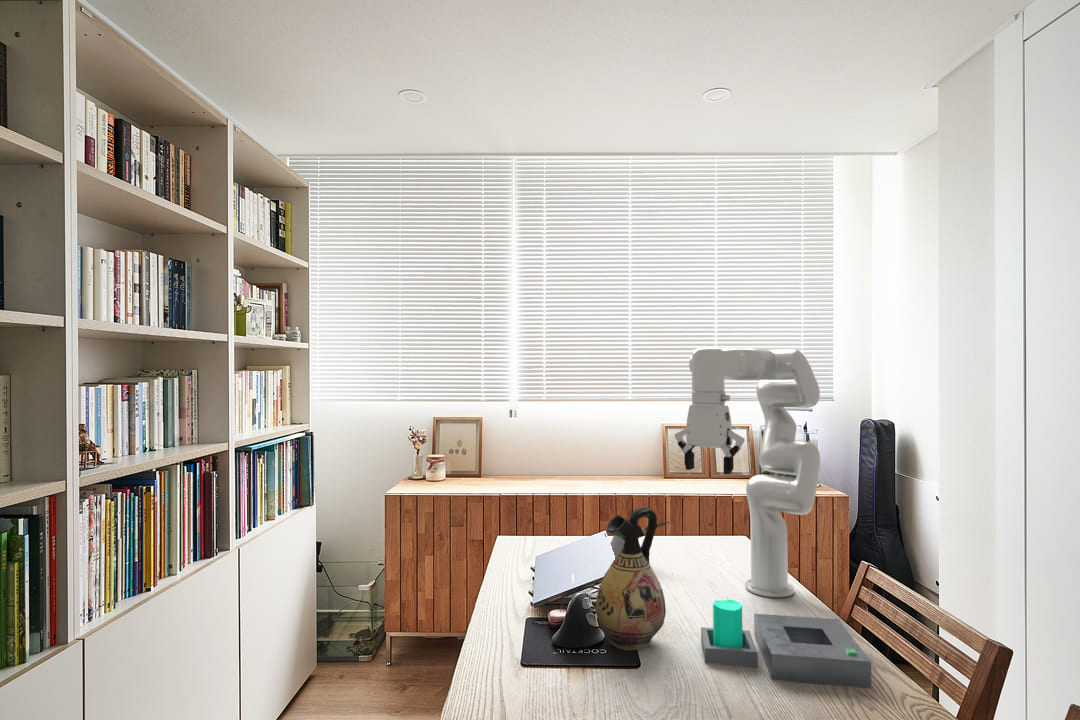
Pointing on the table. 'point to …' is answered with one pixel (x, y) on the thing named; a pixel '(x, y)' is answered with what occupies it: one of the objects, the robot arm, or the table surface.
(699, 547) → the table surface
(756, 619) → the port block
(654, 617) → the ceramic jug
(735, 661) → the grey square tray
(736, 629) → the candle
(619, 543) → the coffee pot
